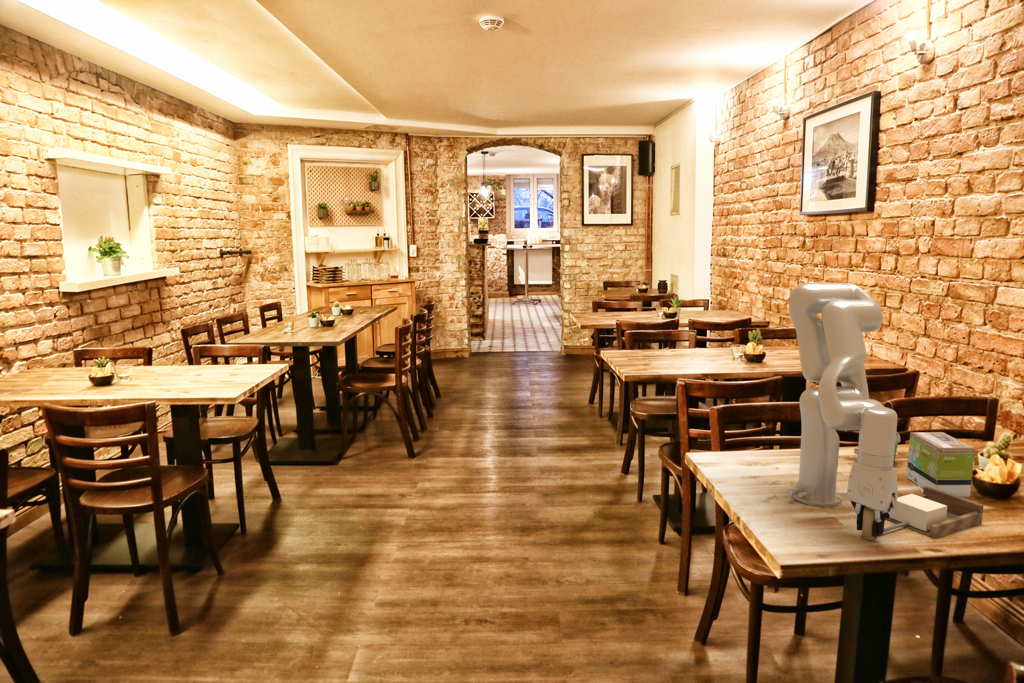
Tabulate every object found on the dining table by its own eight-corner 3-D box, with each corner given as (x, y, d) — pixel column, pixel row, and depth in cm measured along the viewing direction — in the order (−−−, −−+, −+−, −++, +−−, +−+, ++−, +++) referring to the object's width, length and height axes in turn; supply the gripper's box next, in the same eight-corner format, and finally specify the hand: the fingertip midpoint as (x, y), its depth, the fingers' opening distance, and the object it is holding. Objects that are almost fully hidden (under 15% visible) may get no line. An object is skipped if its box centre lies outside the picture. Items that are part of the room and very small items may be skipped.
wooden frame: (934, 538, 159) (936, 519, 158) (878, 516, 172) (880, 498, 171) (981, 523, 168) (983, 504, 167) (924, 503, 180) (926, 486, 180)
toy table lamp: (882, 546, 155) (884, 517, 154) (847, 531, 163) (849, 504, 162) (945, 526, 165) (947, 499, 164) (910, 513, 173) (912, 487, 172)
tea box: (904, 478, 200) (909, 430, 197) (938, 478, 199) (943, 431, 197) (934, 497, 185) (939, 446, 182) (971, 498, 184) (976, 446, 182)
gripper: (834, 451, 162) (828, 522, 165) (899, 472, 148) (892, 549, 150) (854, 447, 165) (848, 517, 168) (919, 467, 151) (912, 543, 154)
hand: (869, 531), depth 159 cm, fingers closed on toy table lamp, 3 cm apart
